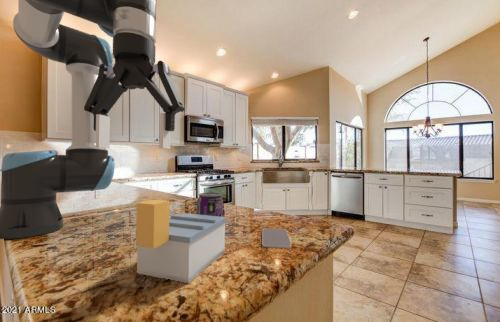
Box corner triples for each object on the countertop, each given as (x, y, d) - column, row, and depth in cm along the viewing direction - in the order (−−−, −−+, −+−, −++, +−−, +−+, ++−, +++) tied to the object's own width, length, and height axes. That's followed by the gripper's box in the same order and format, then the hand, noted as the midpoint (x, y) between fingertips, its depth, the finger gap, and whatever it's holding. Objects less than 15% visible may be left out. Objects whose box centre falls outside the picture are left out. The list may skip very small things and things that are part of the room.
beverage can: (217, 242, 60) (218, 196, 60) (191, 240, 61) (192, 195, 61) (225, 234, 67) (226, 192, 67) (202, 232, 68) (203, 191, 68)
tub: (137, 273, 43) (137, 235, 43) (183, 245, 57) (184, 217, 57) (188, 283, 40) (189, 242, 40) (224, 251, 54) (225, 221, 54)
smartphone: (286, 228, 72) (292, 245, 57) (286, 231, 72) (292, 249, 57) (262, 228, 72) (262, 244, 57) (262, 231, 72) (262, 248, 57)
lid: (116, 251, 39) (117, 201, 39) (183, 223, 58) (184, 189, 58) (174, 261, 36) (175, 206, 36) (226, 227, 54) (227, 191, 54)
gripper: (63, 35, 44) (60, 146, 44) (186, 24, 40) (183, 147, 40) (95, 53, 52) (93, 148, 51) (202, 45, 47) (200, 149, 47)
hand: (133, 148), depth 46 cm, fingers open, 13 cm apart
